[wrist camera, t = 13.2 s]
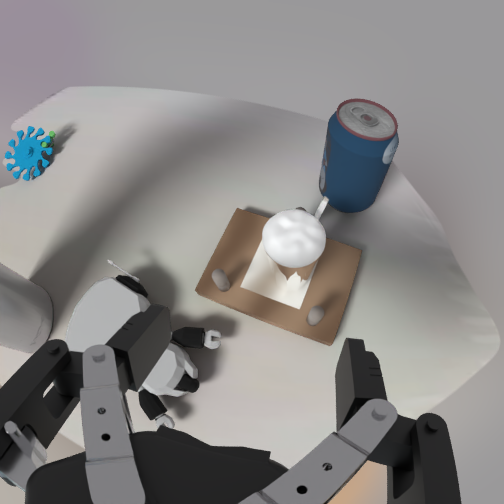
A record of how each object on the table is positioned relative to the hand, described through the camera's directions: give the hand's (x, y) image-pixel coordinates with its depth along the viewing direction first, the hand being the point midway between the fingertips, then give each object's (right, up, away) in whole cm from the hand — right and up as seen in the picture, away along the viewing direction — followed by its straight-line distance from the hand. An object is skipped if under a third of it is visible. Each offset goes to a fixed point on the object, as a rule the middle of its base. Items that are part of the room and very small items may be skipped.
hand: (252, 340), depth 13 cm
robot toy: (-11, -6, +16) cm, 20 cm away
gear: (-39, +20, +30) cm, 53 cm away
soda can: (+11, +11, +21) cm, 26 cm away
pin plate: (+3, +1, +17) cm, 18 cm away
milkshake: (+4, +2, +16) cm, 16 cm away
